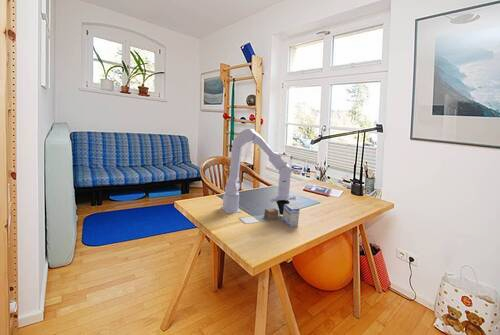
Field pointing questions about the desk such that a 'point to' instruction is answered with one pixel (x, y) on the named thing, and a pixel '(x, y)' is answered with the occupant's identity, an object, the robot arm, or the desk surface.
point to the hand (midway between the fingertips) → (281, 214)
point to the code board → (256, 219)
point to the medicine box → (290, 215)
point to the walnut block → (271, 213)
